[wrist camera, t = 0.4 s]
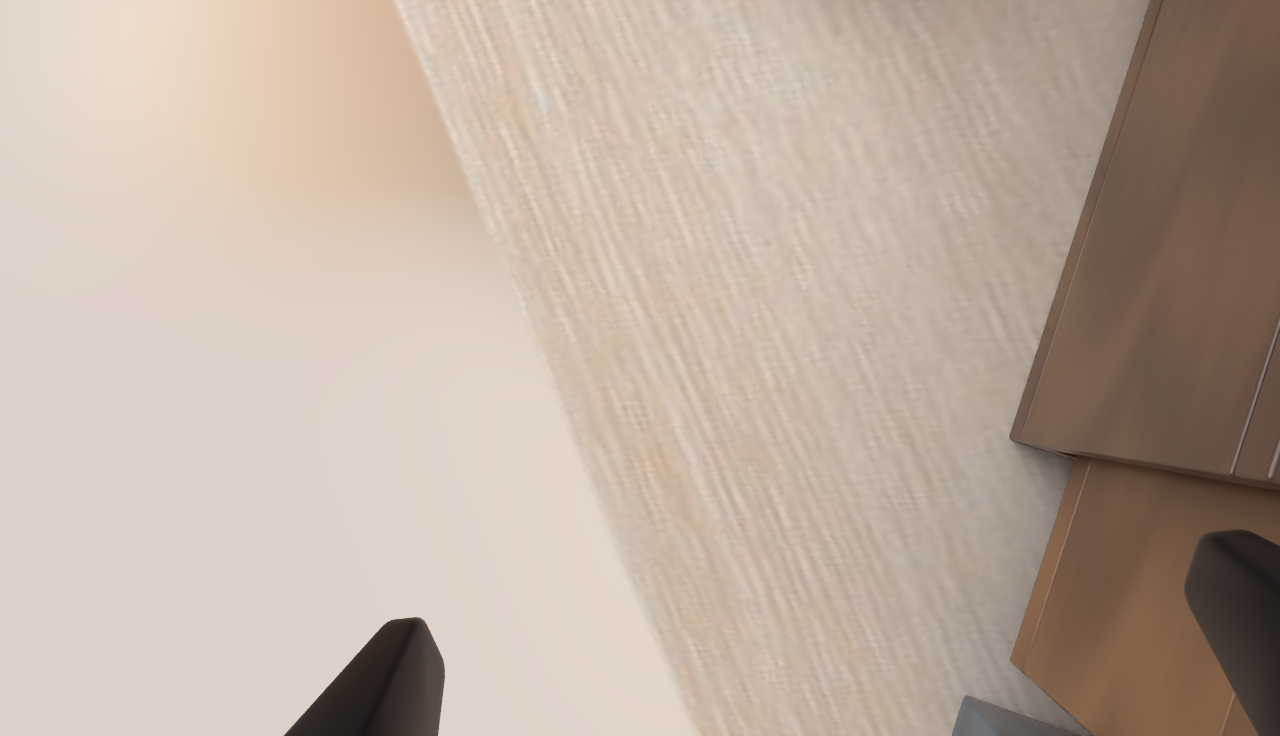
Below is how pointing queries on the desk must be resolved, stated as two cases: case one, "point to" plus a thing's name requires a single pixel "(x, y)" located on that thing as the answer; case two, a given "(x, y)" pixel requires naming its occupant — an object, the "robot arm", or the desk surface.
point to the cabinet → (1176, 262)
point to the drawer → (1128, 608)
